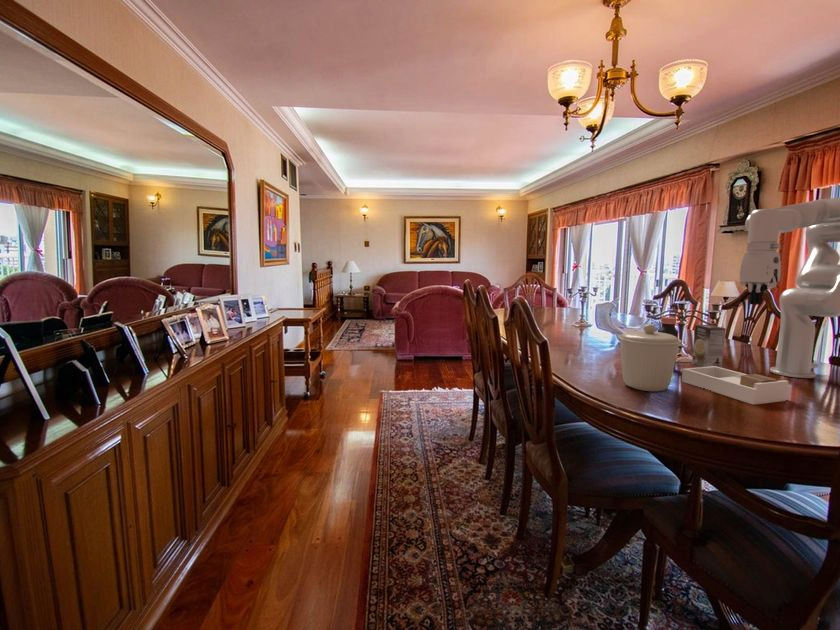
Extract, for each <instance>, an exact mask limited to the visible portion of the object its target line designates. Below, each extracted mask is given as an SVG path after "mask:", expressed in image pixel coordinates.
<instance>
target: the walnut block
mask: <svg viewBox="0 0 840 630" xmlns="http://www.w3.org/2000/svg"><path fill="white" fill-rule="evenodd" d="M772 381H778V380H777V379H776V378H772V377H768V376H765V375H761V374H757V373H753V374H747V375H741V380H740V384H741V385H744V386H747V387H751V388H754V383H762V382H772Z"/></svg>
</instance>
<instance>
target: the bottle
mask: <svg viewBox="0 0 840 630" xmlns="http://www.w3.org/2000/svg"><path fill="white" fill-rule="evenodd" d="M660 319H661V320H660V324H661V327H660V328H658V329H657V332H661V333H666V334H670V335H673V336H675V337H677V338H678V339H679V330H678V329H677V328H676V326H677V325H676V324H677V317H675V316H674V317H673V316H661V318H660ZM676 363H677V360H676V361H675V366H674V370H673V372H674V371H675V370H676V366H677V365H676Z"/></svg>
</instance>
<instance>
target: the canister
mask: <svg viewBox="0 0 840 630" xmlns="http://www.w3.org/2000/svg"><path fill="white" fill-rule="evenodd" d="M656 330H657V327H656V325H655V324H651V323H648V324H645V325H644V326H643V330H629V331H625V332H622V333H621V334H618V336H617V338H618V339H619V340H620V341H619V342H620V343H619V344H620V346H619V347H620V360H621V372H622V373H621V374H622V379H623V382H624V384H625V385H626V386H628V387H629V388H632V389H635V390H639V391H645V392H662V391H665V390H667V389H668V388H669V387H670V385H671V381H672V377H673V373H674V371H675V370H674V366H675V361H676V362H677V356H678V351H679V345H680V344H682V341H683V340H681V339H680V338H679V337H678V338H677V337H675V336H673V335H670V334H666V333H661V332H658V331H656ZM675 367H676V366H675ZM673 370H674V371H673Z"/></svg>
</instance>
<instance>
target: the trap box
mask: <svg viewBox="0 0 840 630" xmlns="http://www.w3.org/2000/svg"><path fill="white" fill-rule="evenodd" d="M681 372H682V375H681V382H682V383H685V384H689V385H692V386H695V387H697V386H698V388H700V387H701V389H703V388H705V389H704V390H707V389H708V390H707V391H710V390H711V391H710V392H713V393H716V394H719V395H722V396H725V397H728V398H731V399H735V400H737V401H738V400H739V401H740V402H744V403H746V404H750V405H759V404H761V405H762V404H769V403H771V404H772V403H777V402H785V401H786V400H788V401H790V392H791V385H789V380H786V379H783V380H777V381H772V382H762V383H754V388H751V387H747V386H744V385H741V384H740V380H741V375H748V374H746V373H743V372H739V371H736V370H731V369H728V368H724V367H722V368H720V367H716V366H710V367H700V366H698V367H689V368H688V367H687V368H682V371H681ZM786 402H787V401H786Z"/></svg>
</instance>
